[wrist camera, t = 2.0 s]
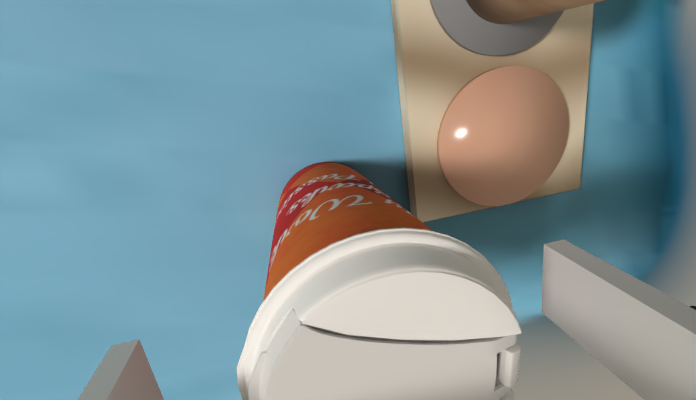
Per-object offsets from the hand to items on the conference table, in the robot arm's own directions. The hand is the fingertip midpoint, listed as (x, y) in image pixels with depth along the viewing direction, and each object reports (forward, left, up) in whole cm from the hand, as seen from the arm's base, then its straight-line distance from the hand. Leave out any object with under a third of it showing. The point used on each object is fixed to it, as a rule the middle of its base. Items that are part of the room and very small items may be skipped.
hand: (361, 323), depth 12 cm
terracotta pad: (-3, +11, -10) cm, 15 cm away
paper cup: (0, 0, -11) cm, 11 cm away
